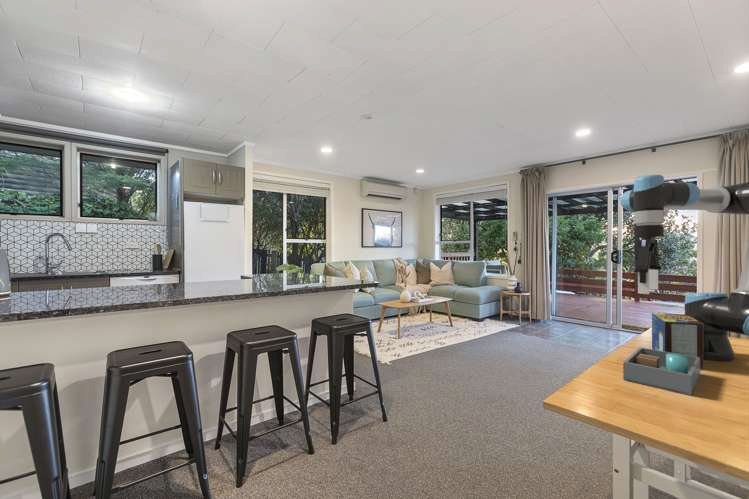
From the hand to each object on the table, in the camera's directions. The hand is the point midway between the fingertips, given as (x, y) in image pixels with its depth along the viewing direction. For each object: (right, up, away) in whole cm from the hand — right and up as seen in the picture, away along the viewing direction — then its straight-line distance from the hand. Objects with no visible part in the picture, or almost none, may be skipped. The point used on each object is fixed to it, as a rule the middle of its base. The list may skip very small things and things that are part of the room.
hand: (648, 291), depth 112 cm
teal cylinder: (+5, -26, -5) cm, 27 cm away
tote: (+3, -27, -2) cm, 27 cm away
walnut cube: (0, -26, +1) cm, 26 cm away
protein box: (+20, -26, +13) cm, 36 cm away
